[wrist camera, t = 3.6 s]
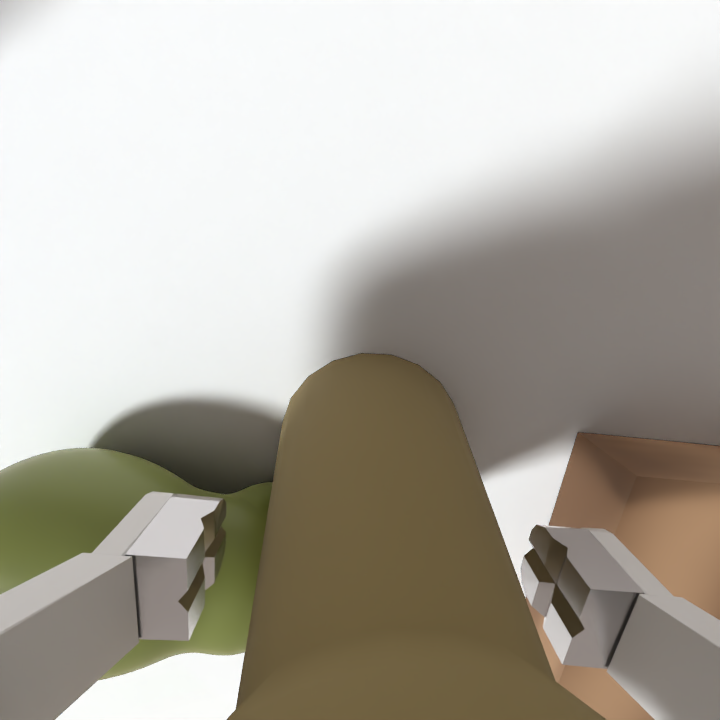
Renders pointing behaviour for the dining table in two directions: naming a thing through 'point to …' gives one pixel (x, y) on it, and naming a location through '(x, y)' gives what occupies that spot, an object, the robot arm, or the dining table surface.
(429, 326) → the dining table surface
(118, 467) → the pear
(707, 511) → the walnut block
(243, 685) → the pepper mill
